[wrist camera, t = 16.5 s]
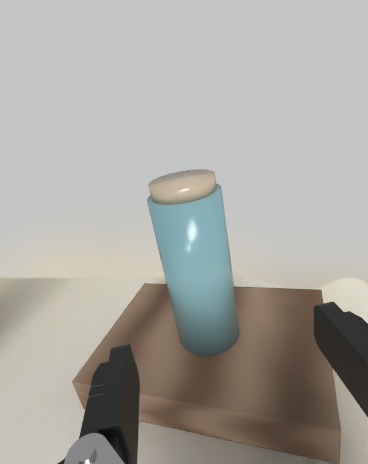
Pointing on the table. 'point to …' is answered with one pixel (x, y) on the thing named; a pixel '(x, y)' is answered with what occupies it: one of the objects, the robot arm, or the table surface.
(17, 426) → the table surface
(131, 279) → the table surface
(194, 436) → the table surface
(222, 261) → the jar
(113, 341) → the stand
